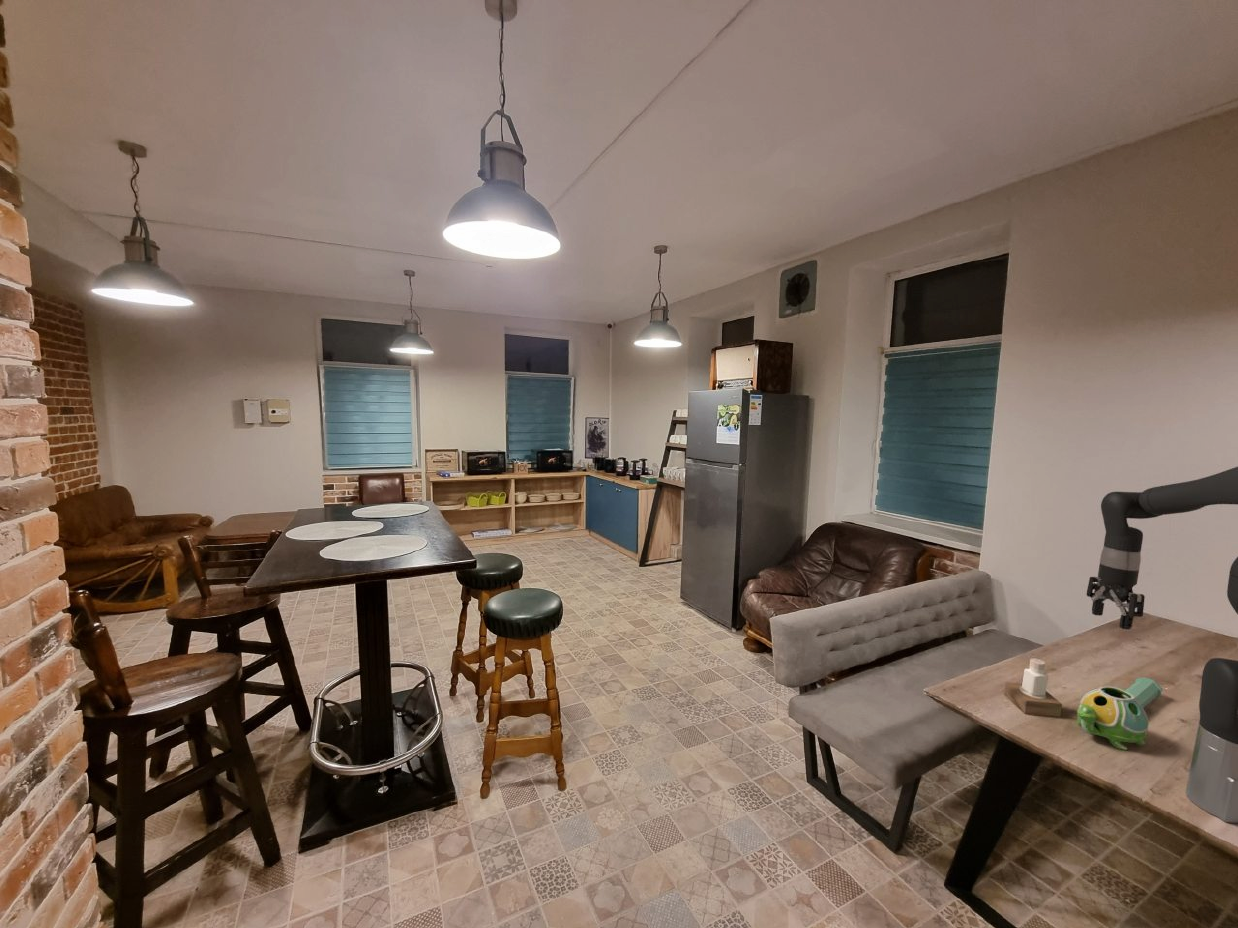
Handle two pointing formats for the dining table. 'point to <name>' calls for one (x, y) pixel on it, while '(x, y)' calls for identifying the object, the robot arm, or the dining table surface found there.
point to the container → (1144, 690)
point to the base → (1032, 701)
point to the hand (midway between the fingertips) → (1110, 621)
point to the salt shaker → (1035, 678)
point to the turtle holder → (1113, 716)
